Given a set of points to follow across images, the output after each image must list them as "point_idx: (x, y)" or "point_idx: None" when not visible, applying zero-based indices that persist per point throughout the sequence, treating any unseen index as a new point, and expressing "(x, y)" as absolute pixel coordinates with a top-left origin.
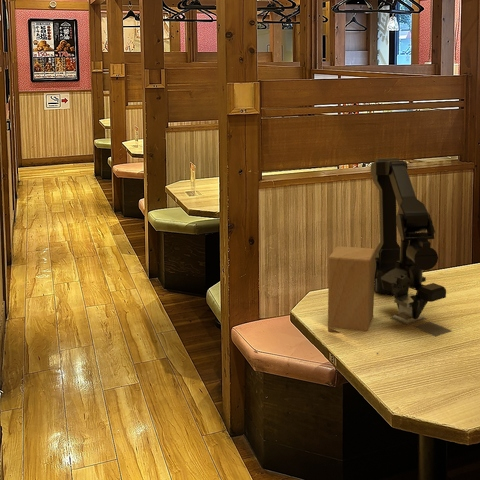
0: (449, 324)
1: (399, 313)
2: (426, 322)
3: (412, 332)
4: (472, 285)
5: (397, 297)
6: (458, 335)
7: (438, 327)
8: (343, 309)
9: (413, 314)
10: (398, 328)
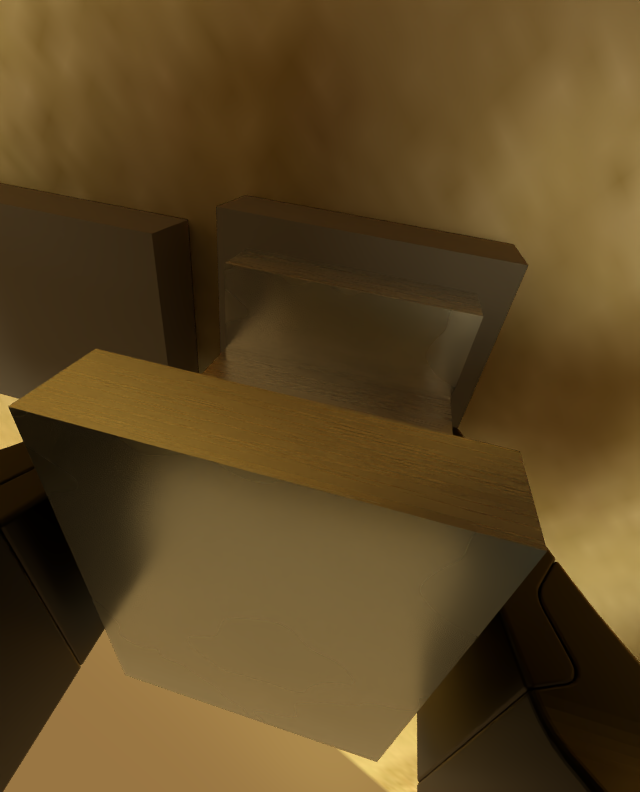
0: None
1: (431, 392)
2: None
3: (188, 214)
4: (391, 787)
5: (525, 633)
6: (12, 400)
7: (47, 378)
8: None
9: None
10: (351, 194)
